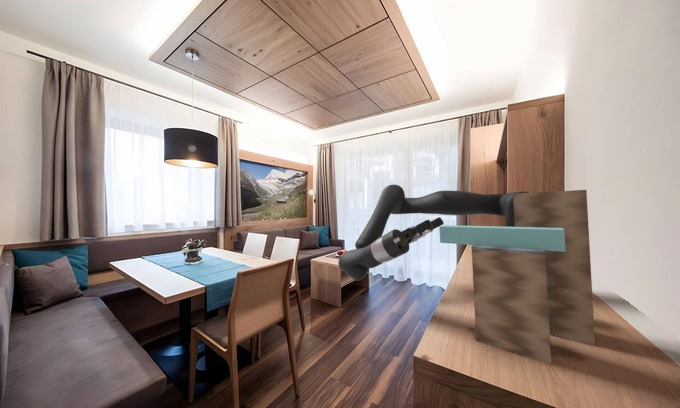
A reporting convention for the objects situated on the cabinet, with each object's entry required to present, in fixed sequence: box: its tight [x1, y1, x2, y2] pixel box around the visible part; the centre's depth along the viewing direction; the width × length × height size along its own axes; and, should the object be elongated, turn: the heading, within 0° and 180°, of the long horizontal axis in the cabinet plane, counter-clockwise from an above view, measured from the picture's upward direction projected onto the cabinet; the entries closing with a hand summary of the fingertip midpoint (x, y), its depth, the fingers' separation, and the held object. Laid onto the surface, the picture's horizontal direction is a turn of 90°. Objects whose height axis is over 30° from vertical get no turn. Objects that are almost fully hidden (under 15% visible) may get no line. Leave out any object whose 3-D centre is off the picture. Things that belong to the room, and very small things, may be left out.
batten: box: [438, 224, 565, 252], centre depth 50 cm, size 22×4×4 cm, turn 48°
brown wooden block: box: [471, 245, 552, 365], centre depth 48 cm, size 12×8×21 cm, turn 48°
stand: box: [513, 189, 596, 347], centre depth 52 cm, size 12×7×32 cm, turn 48°
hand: (436, 221), depth 58 cm, fingers open, 8 cm apart
